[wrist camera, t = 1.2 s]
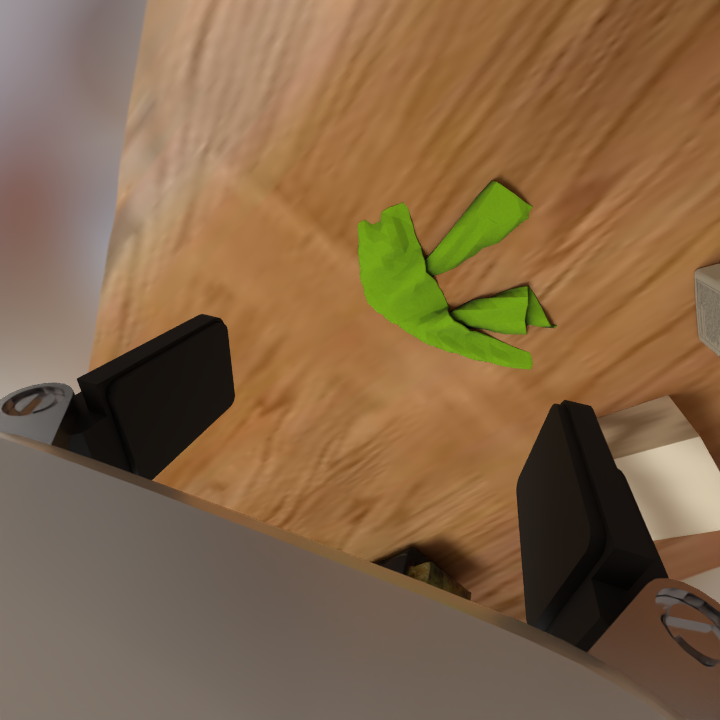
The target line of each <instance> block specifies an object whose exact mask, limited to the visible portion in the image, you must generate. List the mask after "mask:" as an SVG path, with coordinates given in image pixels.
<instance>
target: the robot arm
mask: <svg viewBox="0 0 720 720" xmlns="http://www.w3.org/2000/svg"><path fill="white" fill-rule="evenodd" d="M77 381H78V383H79V386H80V389H81V392H80V393H78V394H76V395H75V394H74V392H73V390H72V388H71V387H70V386H68V385H66V384H61V383H43V384H37V385H32V386H29V387H26V388H22V389H19V390H17V391H15V392H12V393H10V394H8V395H7V396H5V397H4V398H2V399H1V400H0V720H720V604H719V603H718V602H716V601H715V600H714V599H712V598H710V597H709V596H708V595H706V594H705V593H703V592H702V591H700V590H698V589H696V588H694V587H692V586H690V585H688V584H686V583H684V582H681V581H677V580H673V579H669V577H668V575H667V573H666V570H665V568H664V566H663V563H662V561H661V559H660V556H659V554H658V552H657V549H656V547H655V545H654V542H653V540H652V538H651V535H650V533H649V531H648V528H647V526H646V524H645V521H644V519H643V517H642V514H641V512H640V510H639V507H638V505H637V503H636V500H635V498H634V496H633V493H632V491H631V489H630V486H629V484H628V482H627V479H626V477H625V475H624V474H623V472H622V471H621V470H620V469H618V468H617V466H616V463H615V461H614V459H613V456H612V454H611V451H610V449H609V447H608V444H607V442H606V439H605V437H604V434H603V432H602V430H601V427H600V425H599V422H598V420H597V418H596V415H595V413H594V410H593V408H592V407H591V406H589V405H584V404H580V403H576V402H572V401H568V400H564V401H563V402H562V403H561V404H560V405H559V404H553V405H552V407H551V409H550V411H549V413H548V415H547V417H546V420H545V422H544V424H543V426H542V428H541V430H540V433H539V435H538V437H537V439H536V441H535V444H534V446H533V448H532V450H531V452H530V454H529V457H528V459H527V461H526V463H525V465H524V467H523V470H522V472H521V474H520V476H519V479H518V482H517V489H516V493H517V506H518V518H519V531H520V544H521V557H522V570H523V583H524V596H525V609H526V620H527V624H526V623H524V622H521V621H519V620H517V619H515V618H512V617H510V616H507V615H505V614H502V613H500V612H497V611H495V610H492V609H490V608H487V607H485V606H482V605H480V604H477V603H474V602H472V601H469V600H467V599H464V598H462V597H459V596H457V595H454V594H452V593H449V592H447V591H444V590H442V589H439V588H437V587H434V586H432V585H429V584H427V583H424V582H421V581H419V580H416V579H413V578H411V577H408V576H406V575H403V574H400V573H398V572H395V571H392V570H390V569H387V568H384V567H382V566H379V565H377V564H374V563H371V562H369V561H366V560H363V559H361V558H358V557H355V556H353V555H350V554H347V553H345V552H342V551H340V550H337V549H334V548H332V547H329V546H326V545H324V544H321V543H318V542H316V541H313V540H311V539H308V538H305V537H303V536H300V535H297V534H294V533H292V532H289V531H286V530H284V529H281V528H278V527H276V526H273V525H270V524H268V523H265V522H262V521H260V520H257V519H254V518H252V517H249V516H246V515H244V514H241V513H238V512H236V511H233V510H230V509H227V508H225V507H222V506H219V505H217V504H214V503H211V502H209V501H206V500H203V499H201V498H198V497H195V496H192V495H190V494H187V493H184V492H182V491H179V490H176V489H173V488H171V487H168V486H165V485H163V484H160V483H157V482H154V481H152V479H154V478H155V477H156V476H157V475H158V474H159V473H160V472H161V471H162V470H163V469H164V468H165V467H166V466H168V465H169V464H170V463H171V462H172V461H173V460H174V459H175V458H176V457H177V456H178V455H179V454H180V453H181V452H182V451H184V450H185V449H186V448H187V447H188V446H189V445H190V444H191V443H192V442H193V441H194V440H195V439H196V438H197V437H198V436H200V435H201V434H202V433H203V432H204V431H205V430H206V429H207V428H208V427H209V426H210V425H211V424H212V423H213V422H215V421H216V420H217V419H218V418H219V417H220V416H221V415H222V414H223V413H224V412H225V411H226V410H227V409H228V408H229V407H230V406H231V405H232V404H233V402H234V398H235V392H234V383H233V374H232V365H231V356H230V347H229V338H228V329H227V326H226V325H225V324H224V323H223V321H222V319H220V318H217V317H213V316H209V315H204V314H201V315H198V316H196V317H194V318H192V319H190V320H188V321H187V322H185V323H183V324H181V325H179V326H177V327H175V328H173V329H171V330H169V331H167V332H165V333H164V334H162V335H160V336H158V337H156V338H154V339H152V340H150V341H148V342H146V343H144V344H142V345H141V346H139V347H137V348H135V349H133V350H131V351H129V352H127V353H125V354H123V355H121V356H119V357H118V358H116V359H114V360H112V361H110V362H108V363H106V364H104V365H102V366H100V367H98V368H97V369H95V370H93V371H91V372H89V373H87V374H85V375H83V376H81V377H79V378H77Z"/></svg>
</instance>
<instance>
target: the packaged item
mask: <svg viewBox="0 0 720 720" xmlns="http://www.w3.org/2000/svg"><path fill="white" fill-rule="evenodd" d="M377 565H379V566H382V567H384V568H387V569H390V570H392V571H395V572H398V573H400V574H403V575H406V576H408V577H411V578H413V579H416V580H419V581H421V582H424V583H427V584H429V585H432V586H434V587H437V588H439V589H442V590H444V591H447V592H449V593H452V594H454V595H457V596H459V597H462V598H464V599H467V600H469V601H470V599H471V592H469V591H468V590H466V589H465V588H464V587H463V586H462V585H460V584H459V583H458V582H457V581H455V580H454V579H453V578H451V577H450V576H449V575H447V574H446V573H445V572H444V571H442V570H441V569H440V568H438V567H437V566H436V565H435V564H434V563H433V562H432V561H430V560H429V559H427V558H426V557H425V556H423V555H422V554H421V553H420V552H418V551H417V550H415V549H414V548H410V549H408V550H406V551H404V552H402V553H400V554H399V555H397V556H394V557H392V558H390V559H388V560H383V561H380V562H379V563H377Z"/></svg>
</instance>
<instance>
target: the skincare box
mask: <svg viewBox="0 0 720 720" xmlns="http://www.w3.org/2000/svg"><path fill="white" fill-rule="evenodd" d="M695 298H696V312H697V326H698V334H699V339H700V341H702V342H703V343H704V344H705V345H706V346H708V347H709V348H710V349H711V350H712V351H713V352H715V353H716V354H717V355H718V356H719V357H720V263H719V264H715V265H711V266H707V267H703V268H699V269H697V270H696V271H695Z"/></svg>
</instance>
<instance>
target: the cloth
mask: <svg viewBox="0 0 720 720" xmlns="http://www.w3.org/2000/svg"><path fill="white" fill-rule="evenodd" d="M531 209H532V206H530V205H528V204H527V203H525V202H524V201H523V200H522V199H520V198H519V197H518V196H517V195H515V194H514V193H512V192H511V191H509V190H508V189H506V188H505V187H504V186H502V185H501V184H499V183H498V182H496V181H491V182H490V183H489V184H488V185H487V186H486V187H485V189H484V190H483V191H482V192H481V193H480V194H479V195H478V196H477V198H476V199H475V200H474V202H473V203H472V204H471V205H470V207H469V208H468V209H467V210H466V212H465V213H464V214H463V216H462V217H461V218H460V219H459V221H458V222H457V223H456V224H455V226H454V227H453V228H452V229H451V231H450V232H449V233H448V234H447V235H446V237H445V238H444V239H443V240H442V242H441V243H440V244H439V245H438V246H437V248H436V249H435V250H434V251H433V252H432V253H431V254H430V255H429V256H428V257H427V258H426V259H424V257H423V253H422V248H421V246H420V244H419V242H418V240H417V238H416V235H415V233H414V228H413V224H412V221H411V218H410V214H409V210H408V208H407V207H406V206H405V204H404V203H400V204H398V205H395V206H392V207H389V208H388V209H386V210H384V211H383V212H382V214H381V220H380V222H378V223H376V224H373V225H372V224H370V223H369V222H367V221H366V220H364V221H361V222H360V223H359V224H358V225H357V226H358V238H359V245H358V254H359V265H360V278H361V282H362V285H363V287H364V293H365V296H366V298H367V302H368V303H369V304H370V305H371V306H372V307H373V308H374V309H375V310H376V311H377V312H378V313H380V314H383V315H384V317H385V318H386V319H388V320H389V321H390V323H391V322H393V324H398V325H399V326H400V328H403V329H404V330H405V331H406V332H407V333H410V334H412V335H413V336H414V337H417V338H418V339H420V340H421V341H422V342H424V343H426V344H428V345H433V346H435V347H438V348H440V349H443V350H445V351H448V352H451V353H458V354H460V355H463V356H465V357H468V358H470V359H474V360H478V361H484V362H491V363H494V364H497V365H501V366H506V367H513V368H521V369H531V367H532V365H533V362H532V358H531V354H530V353H529V352H526V351H523V350H521V349H518V348H515V347H513V346H510V345H508V344H506V343H504V342H502V341H499V340H497V339H495V338H493V337H490V336H488V335H485V334H482V333H479V332H477V331H470V330H469V329H467V328H475V329H485V330H489V331H493V332H498V333H502V334H527V332H526V325H533V326H538V327H547V328H555V327H556V326H557V325H550V323H549V321H548V319H547V318H546V315H545V313H544V311H543V309H542V308H541V306H540V304H539V303H538V300H537V298H536V296H535V294H534V293H533V292H532V290H531V289H530V287H528V286H526V287H519V288H515V289H511V290H507V291H504V292H501V293H499V294H497V295H495V296H493V297H491V298H484V299H476V300H472V301H469V302H467V303H465V304H463V305H461V306H459V307H457V308H456V309H455V310H453V311H452V312H450V313H449V312H448V308H449V306H448V304H447V301H446V299H445V297H444V294H443V292H442V291H441V289H440V288H439V287H438V284H437V282H436V280H435V279H434V278H433V277H434V276H435V275H438V274H441V273H444V272H446V271H449V270H451V269H453V268H455V267H457V266H459V265H460V264H461V263H463V262H464V261H465V260H466V259H468V258H470V257H472V256H474V255H476V254H477V253H478V252H479V251H480V250H481V249H482V248H485V247H488V246H491V245H493V244H496V243H499V242H500V241H501V240H502V239H503V238H505V237H506V236H507V235H508V234H509V233H510V232H511V231H513V230H514V229H515V228H516V227H517V226H519V224H520V223H522V222H523V221H525V220H526V219H528V218H529V212H530V210H531Z"/></svg>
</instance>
